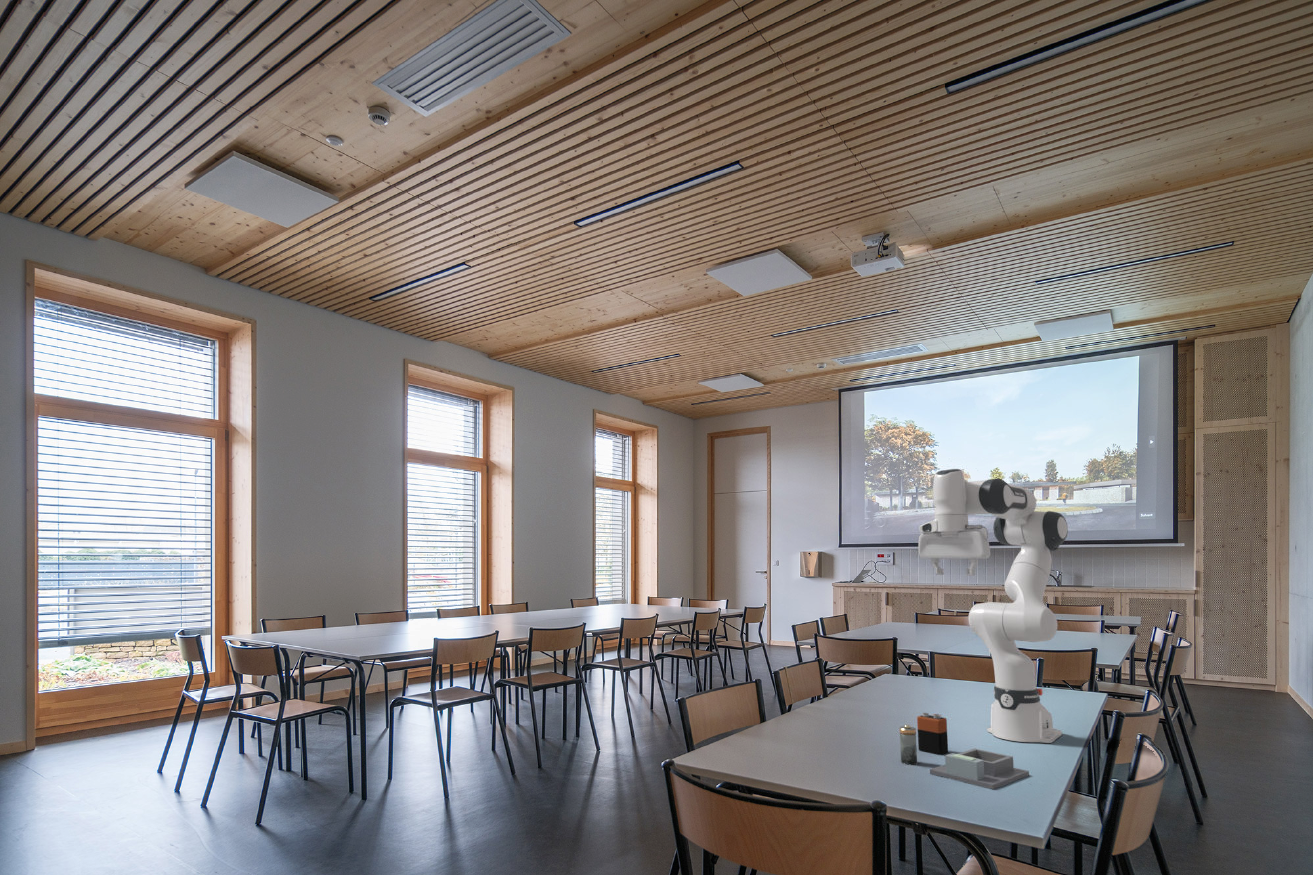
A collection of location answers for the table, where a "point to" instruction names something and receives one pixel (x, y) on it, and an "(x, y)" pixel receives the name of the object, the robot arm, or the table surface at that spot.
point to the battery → (932, 733)
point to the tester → (980, 768)
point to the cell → (908, 745)
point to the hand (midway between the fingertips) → (955, 575)
